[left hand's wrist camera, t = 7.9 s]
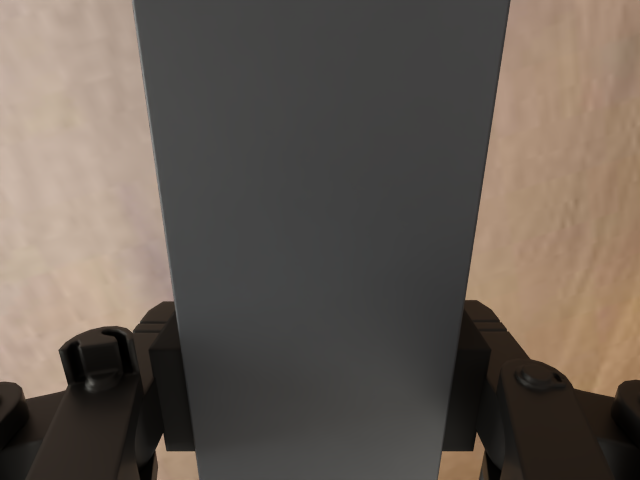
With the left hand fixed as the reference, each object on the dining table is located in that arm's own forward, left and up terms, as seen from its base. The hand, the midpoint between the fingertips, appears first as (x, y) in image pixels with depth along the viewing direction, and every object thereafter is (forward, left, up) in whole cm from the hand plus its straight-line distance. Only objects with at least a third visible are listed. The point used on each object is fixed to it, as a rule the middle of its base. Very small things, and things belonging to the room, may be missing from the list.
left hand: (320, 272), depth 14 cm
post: (+19, +4, -1) cm, 19 cm away
